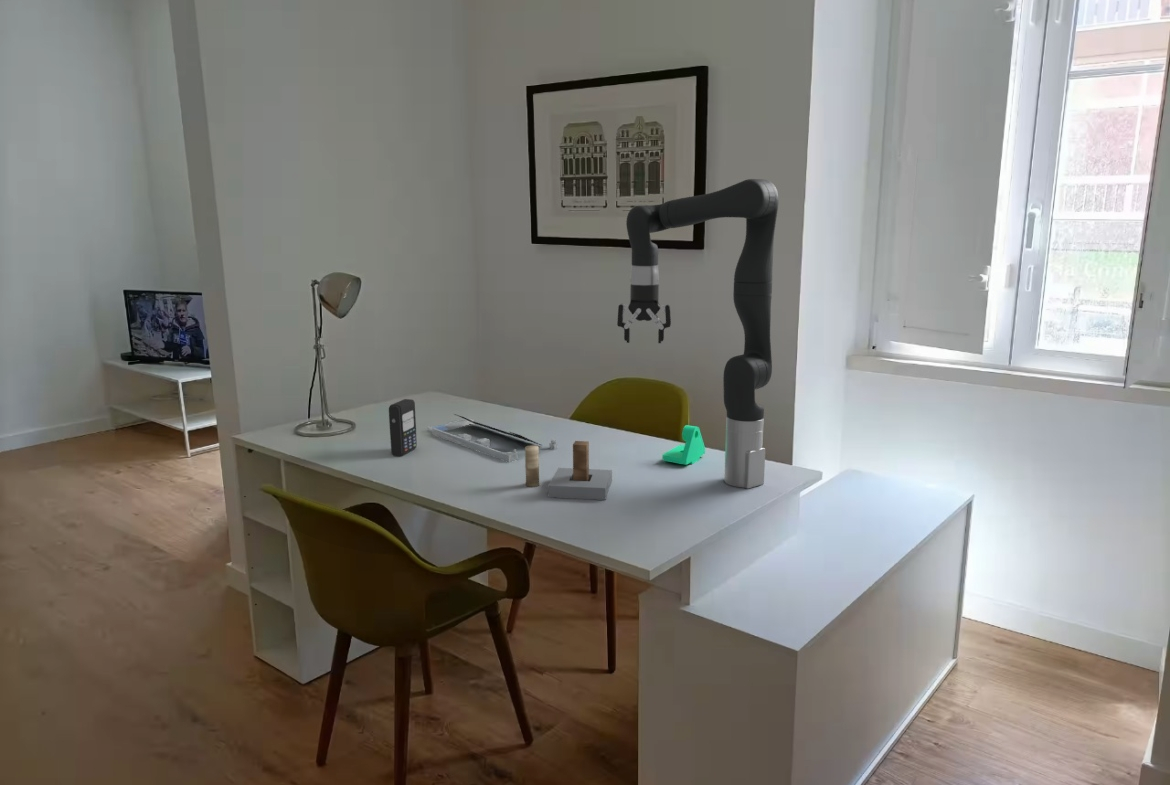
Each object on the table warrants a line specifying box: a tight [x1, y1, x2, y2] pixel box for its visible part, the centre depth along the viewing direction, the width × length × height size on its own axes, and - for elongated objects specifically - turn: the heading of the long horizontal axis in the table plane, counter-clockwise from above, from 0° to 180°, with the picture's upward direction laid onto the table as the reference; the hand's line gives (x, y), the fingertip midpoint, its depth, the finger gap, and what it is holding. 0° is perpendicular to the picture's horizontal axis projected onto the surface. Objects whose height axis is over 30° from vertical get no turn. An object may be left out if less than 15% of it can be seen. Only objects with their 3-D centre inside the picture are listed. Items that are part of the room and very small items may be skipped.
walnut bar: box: [572, 440, 590, 481], centre depth 207 cm, size 3×3×12 cm
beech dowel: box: [524, 444, 540, 488], centre depth 211 cm, size 3×3×10 cm
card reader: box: [388, 398, 418, 457], centre depth 238 cm, size 9×4×15 cm, turn 161°
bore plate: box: [547, 467, 613, 501], centre depth 208 cm, size 14×14×3 cm
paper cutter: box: [427, 413, 558, 463], centre depth 252 cm, size 18×45×6 cm, turn 43°
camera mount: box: [662, 424, 706, 466], centre depth 230 cm, size 12×8×10 cm, turn 147°
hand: (643, 342), depth 224 cm, fingers open, 8 cm apart
